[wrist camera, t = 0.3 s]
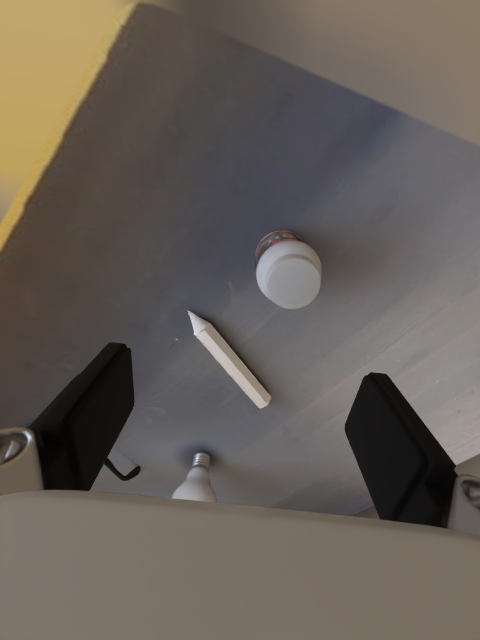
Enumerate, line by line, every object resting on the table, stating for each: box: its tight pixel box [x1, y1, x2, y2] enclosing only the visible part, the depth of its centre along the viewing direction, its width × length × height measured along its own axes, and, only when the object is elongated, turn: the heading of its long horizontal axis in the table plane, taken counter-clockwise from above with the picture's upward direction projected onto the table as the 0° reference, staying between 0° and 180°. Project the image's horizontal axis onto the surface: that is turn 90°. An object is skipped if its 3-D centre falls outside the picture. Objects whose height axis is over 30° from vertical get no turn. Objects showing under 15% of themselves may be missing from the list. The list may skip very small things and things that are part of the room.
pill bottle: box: [255, 230, 322, 309], centre depth 24 cm, size 5×5×10 cm
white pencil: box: [187, 310, 271, 409], centre depth 33 cm, size 3×2×16 cm
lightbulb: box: [171, 453, 217, 503], centre depth 37 cm, size 6×6×11 cm
